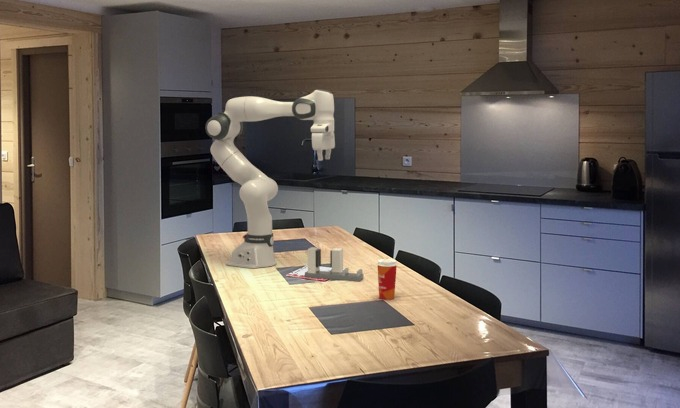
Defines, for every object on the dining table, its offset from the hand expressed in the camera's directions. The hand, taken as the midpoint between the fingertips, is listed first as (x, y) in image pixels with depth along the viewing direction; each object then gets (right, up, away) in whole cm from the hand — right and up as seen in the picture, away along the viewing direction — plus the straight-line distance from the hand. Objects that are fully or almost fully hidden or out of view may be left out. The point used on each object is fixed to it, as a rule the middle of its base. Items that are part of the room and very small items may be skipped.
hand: (324, 160), depth 289 cm
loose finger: (+6, -48, 0) cm, 49 cm away
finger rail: (+4, -50, -11) cm, 51 cm away
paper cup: (+24, -54, -41) cm, 72 cm away
